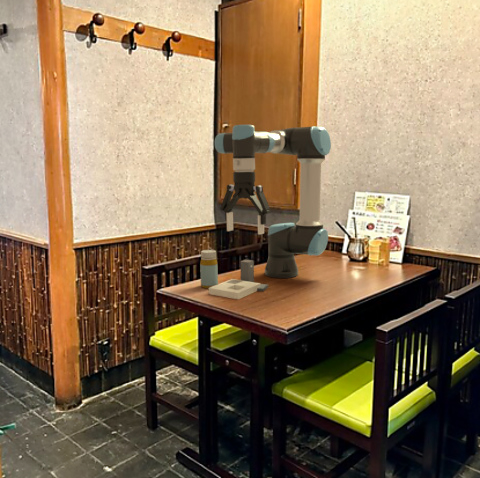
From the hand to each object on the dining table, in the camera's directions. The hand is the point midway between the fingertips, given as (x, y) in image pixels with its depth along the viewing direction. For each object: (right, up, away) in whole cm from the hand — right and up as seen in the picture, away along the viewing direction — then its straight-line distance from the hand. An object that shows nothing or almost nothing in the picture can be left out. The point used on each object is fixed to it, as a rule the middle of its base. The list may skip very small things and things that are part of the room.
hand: (245, 232), depth 172 cm
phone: (+7, -23, +27) cm, 36 cm away
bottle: (-15, -22, +32) cm, 42 cm away
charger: (+1, -21, +35) cm, 41 cm away
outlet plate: (-4, -23, +24) cm, 34 cm away
